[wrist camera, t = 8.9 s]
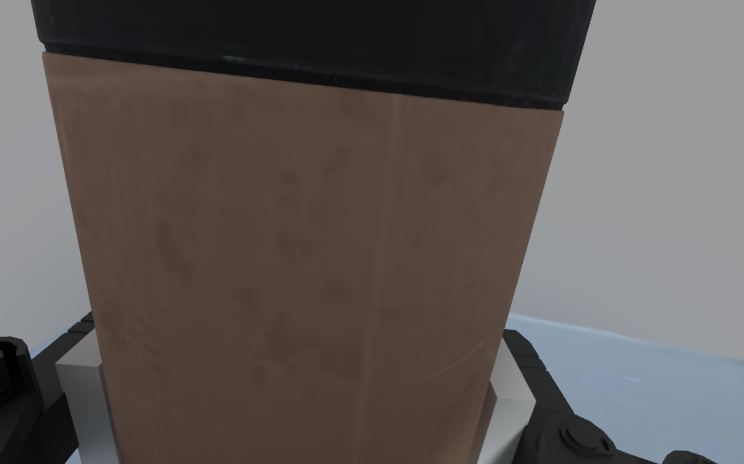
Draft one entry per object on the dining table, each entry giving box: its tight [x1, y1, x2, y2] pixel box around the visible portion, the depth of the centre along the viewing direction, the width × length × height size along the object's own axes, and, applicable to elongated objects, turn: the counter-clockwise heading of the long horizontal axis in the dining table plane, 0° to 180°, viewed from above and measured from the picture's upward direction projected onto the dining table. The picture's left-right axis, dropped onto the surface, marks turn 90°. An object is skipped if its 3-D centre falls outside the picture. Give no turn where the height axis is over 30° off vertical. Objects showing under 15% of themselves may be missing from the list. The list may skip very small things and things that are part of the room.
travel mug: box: [31, 0, 596, 464], centre depth 9 cm, size 8×8×20 cm
